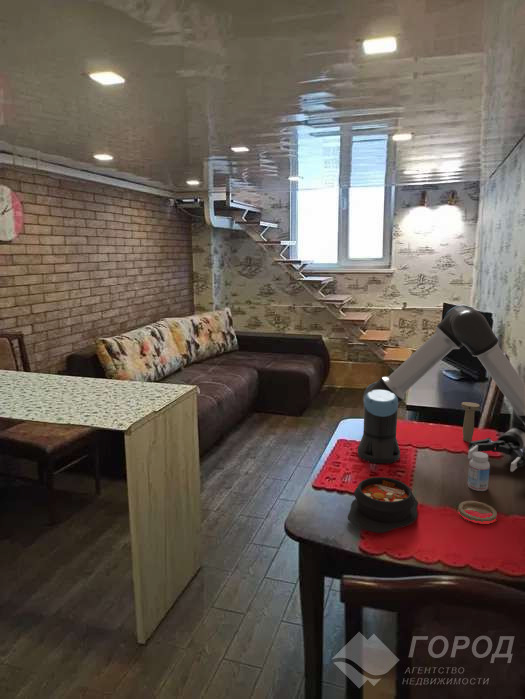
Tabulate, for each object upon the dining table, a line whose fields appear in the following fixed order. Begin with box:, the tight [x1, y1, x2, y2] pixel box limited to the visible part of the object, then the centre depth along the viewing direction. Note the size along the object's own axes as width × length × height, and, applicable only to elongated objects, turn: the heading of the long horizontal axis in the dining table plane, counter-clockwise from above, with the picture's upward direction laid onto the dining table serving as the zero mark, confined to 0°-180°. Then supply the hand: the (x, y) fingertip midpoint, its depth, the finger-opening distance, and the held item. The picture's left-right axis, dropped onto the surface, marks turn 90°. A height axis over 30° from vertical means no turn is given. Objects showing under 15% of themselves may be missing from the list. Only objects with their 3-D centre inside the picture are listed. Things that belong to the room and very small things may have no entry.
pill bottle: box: [467, 451, 491, 492], centre depth 156 cm, size 6×6×11 cm
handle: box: [460, 401, 481, 443], centre depth 191 cm, size 5×6×15 cm
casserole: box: [346, 476, 419, 534], centre depth 140 cm, size 25×19×8 cm
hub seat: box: [457, 500, 498, 522], centre depth 141 cm, size 10×10×2 cm
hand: (489, 461), depth 161 cm, fingers open, 13 cm apart
